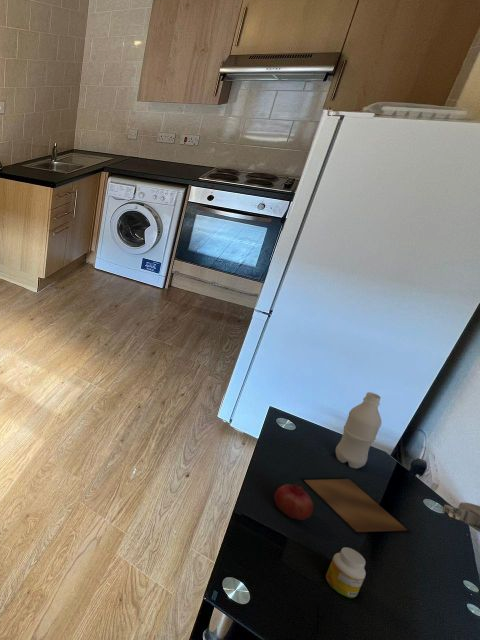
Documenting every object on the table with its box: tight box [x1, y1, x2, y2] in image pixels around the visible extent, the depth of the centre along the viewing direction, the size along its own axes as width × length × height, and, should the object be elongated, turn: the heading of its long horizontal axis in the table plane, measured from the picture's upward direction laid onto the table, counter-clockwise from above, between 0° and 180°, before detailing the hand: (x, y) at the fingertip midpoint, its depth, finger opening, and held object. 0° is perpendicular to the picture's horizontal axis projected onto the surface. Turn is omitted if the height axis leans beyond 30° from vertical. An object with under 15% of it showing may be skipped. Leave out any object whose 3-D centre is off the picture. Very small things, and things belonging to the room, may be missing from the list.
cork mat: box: [303, 478, 408, 533], centre depth 112 cm, size 16×14×1 cm
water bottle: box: [334, 392, 382, 469], centre depth 123 cm, size 7×7×25 cm
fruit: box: [273, 483, 314, 521], centre depth 108 cm, size 8×8×10 cm
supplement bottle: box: [325, 547, 367, 599], centre depth 90 cm, size 5×5×10 cm
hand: (465, 522), depth 76 cm, fingers open, 8 cm apart
